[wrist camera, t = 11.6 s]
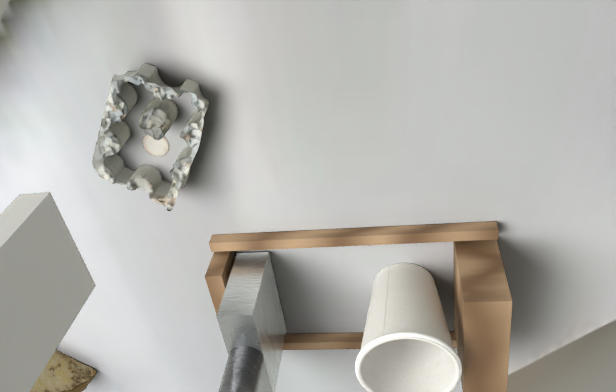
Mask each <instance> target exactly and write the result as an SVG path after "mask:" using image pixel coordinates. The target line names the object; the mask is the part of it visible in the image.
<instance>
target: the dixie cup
mask: <svg viewBox="0 0 616 392" xmlns="http://www.w3.org/2000/svg"><path fill="white" fill-rule="evenodd" d="M355 372H356V376H357V378H358V380H359V382H360V383H361V385H362V386H363V387H364V388H365V389H366V390H367V391H368V392H451V391H452V390H453V389H454V388H455V387H456V386H457V384H458V383H459V381H460V378H461V375H462V364H461V361H460V358H459V356H458V355H457V353H456V352H455V350H454V346H453V343H452V339H451V336H450V332H449V329H448V326H447V322H446V319H445V315H444V312H443V309H442V305H441V302H440V298H439V295H438V291H437V288H436V285H435V281H434V278H433V277H432V275H431V274H430V273H429V272H428V271H427V270H426V269H424V268H423V267H421V266H418V265H415V264H411V263H398V264H393V265H390V266H387V267H386V268H384V269H382V270H381V271H380V272H379V273H378V274H377V276H376V278H375V280H374V285H373V290H372V295H371V300H370V305H369V310H368V314H367V319H366V324H365V329H364V334H363V339H362V344H361V349H360V352H359V354H358V356H357V358H356V362H355Z"/></svg>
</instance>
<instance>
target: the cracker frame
mask: <svg viewBox="0 0 616 392" xmlns="http://www.w3.org/2000/svg"><path fill="white" fill-rule="evenodd" d="M497 239H498V226H497V223H496V221H491V222H470V223H450V224H429V225H409V226H388V227H367V228H347V229H326V230H306V231H285V232H265V233H244V234H223V235H212V237H211V239H210V242H209V245H210V248H211V252H214V254H213V257H212V259H211V262H210V265H209V267H208V270H207V273H206V275H205V279H206V282H207V285H208V288H209V291H210V295H211V298H212V301H213V304H214V307H215V311H216V314H217V313H218V310H219V307H220V304H221V301H222V298H223V295H224V292H225V289H226V286H227V283H228V280H229V276H230V273H231V270H232V267H233V264H234V261H235V258H234V255H233V251H243V250H266V249H289V248H312V247H335V246H358V245H381V244H404V243H427V242H450V241H454V329H455V331H449V332H450V336H451V339H452V343H453V346H454V348H457V351H458V356H459V358H460V361H461V364H462V375H461V381H462V389H463V392H507V377H508V362H509V347H510V331H511V316H512V297H511V293H510V290H509V286H508V282H507V278H506V274H505V270H504V266H503V262H502V258H501V255H500V251H499V247H498V243H497ZM363 334H364V333H318V334H285V340H284V345H283V350H316V349H361V344H362V339H363Z"/></svg>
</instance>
